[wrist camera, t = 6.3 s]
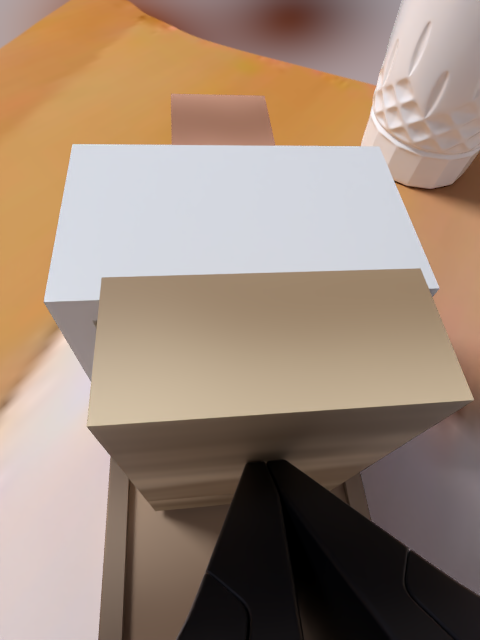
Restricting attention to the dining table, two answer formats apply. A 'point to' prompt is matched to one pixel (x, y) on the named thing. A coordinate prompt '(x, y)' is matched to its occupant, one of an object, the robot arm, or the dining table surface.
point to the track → (163, 559)
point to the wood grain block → (262, 359)
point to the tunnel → (220, 219)
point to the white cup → (429, 93)
